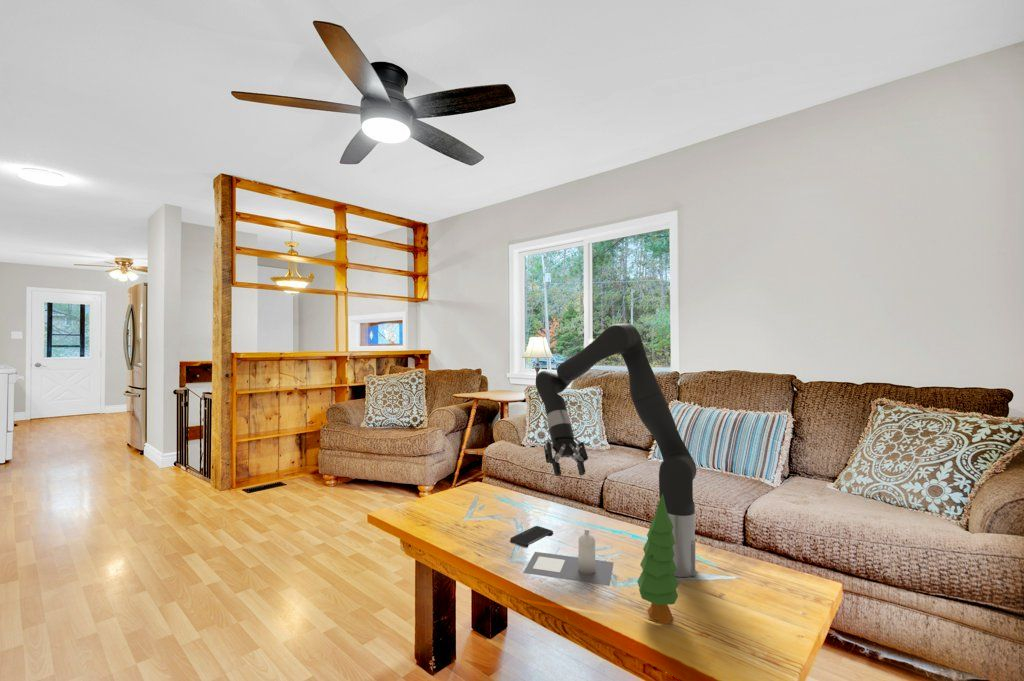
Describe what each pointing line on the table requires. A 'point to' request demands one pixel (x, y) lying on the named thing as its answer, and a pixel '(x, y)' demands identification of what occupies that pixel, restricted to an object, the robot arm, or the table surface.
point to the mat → (568, 568)
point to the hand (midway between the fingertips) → (570, 475)
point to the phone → (531, 536)
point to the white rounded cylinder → (586, 553)
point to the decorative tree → (659, 567)
